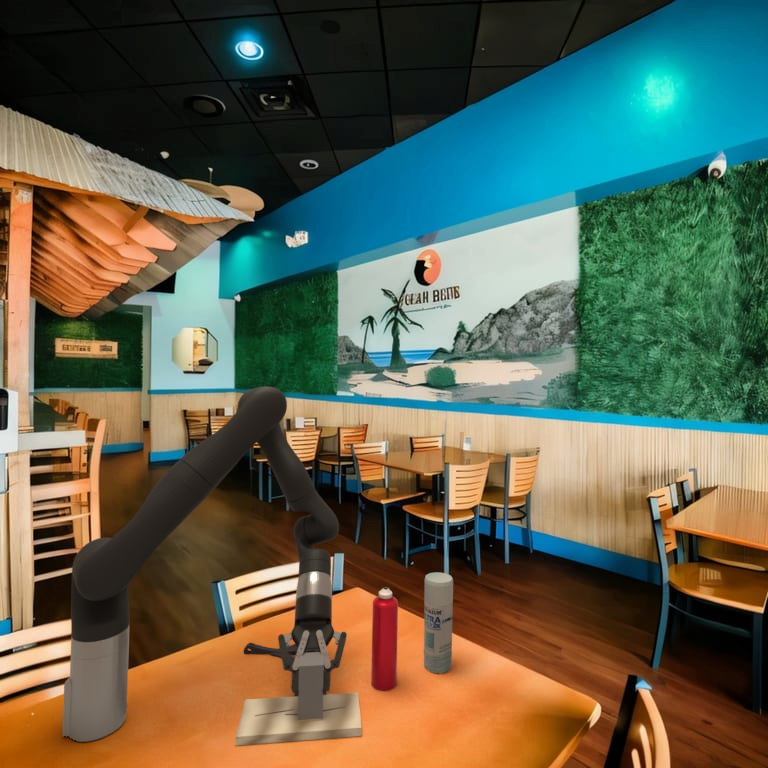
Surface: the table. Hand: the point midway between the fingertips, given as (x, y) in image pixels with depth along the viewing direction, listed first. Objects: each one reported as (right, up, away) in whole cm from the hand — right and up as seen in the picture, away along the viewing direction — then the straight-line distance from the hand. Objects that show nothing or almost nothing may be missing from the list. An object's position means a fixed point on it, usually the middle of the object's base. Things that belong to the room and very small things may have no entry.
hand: (310, 694), depth 86 cm
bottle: (+13, -7, +14) cm, 20 cm away
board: (-2, -6, +2) cm, 7 cm away
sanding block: (0, -5, +2) cm, 5 cm away
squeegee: (-12, -7, +25) cm, 28 cm away
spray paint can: (+26, -7, +20) cm, 34 cm away
